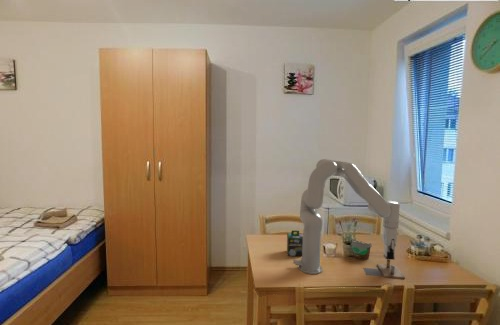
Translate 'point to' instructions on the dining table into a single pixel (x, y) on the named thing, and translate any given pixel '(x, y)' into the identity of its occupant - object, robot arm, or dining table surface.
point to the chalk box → (294, 244)
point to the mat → (372, 272)
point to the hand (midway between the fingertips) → (388, 256)
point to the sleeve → (386, 252)
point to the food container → (361, 250)
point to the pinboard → (390, 270)
